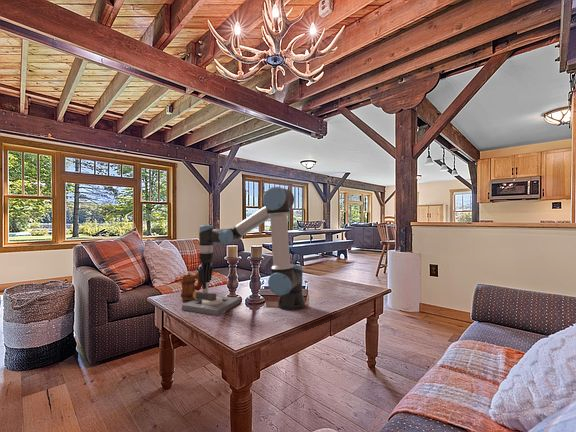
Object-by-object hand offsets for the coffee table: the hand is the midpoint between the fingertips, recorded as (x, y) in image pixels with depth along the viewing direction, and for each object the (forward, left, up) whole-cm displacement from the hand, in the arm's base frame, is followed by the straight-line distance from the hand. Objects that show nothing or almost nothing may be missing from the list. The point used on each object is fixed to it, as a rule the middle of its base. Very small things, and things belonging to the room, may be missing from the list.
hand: (205, 293), depth 164 cm
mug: (+12, -3, -5) cm, 14 cm away
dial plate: (-7, +4, -5) cm, 9 cm away
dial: (-4, +4, -4) cm, 6 cm away
